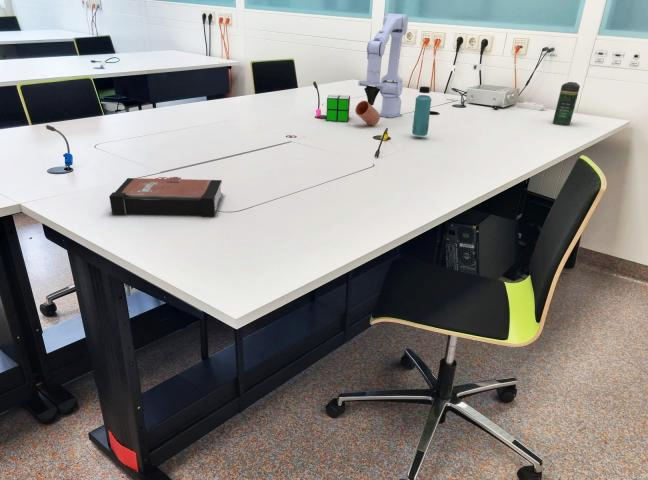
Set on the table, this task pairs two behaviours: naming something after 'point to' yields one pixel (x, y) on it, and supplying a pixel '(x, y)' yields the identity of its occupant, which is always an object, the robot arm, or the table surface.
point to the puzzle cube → (338, 108)
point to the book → (167, 197)
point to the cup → (367, 113)
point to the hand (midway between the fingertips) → (370, 105)
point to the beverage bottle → (422, 113)
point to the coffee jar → (566, 103)
